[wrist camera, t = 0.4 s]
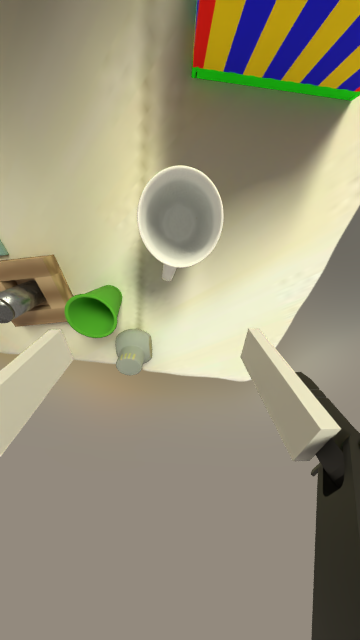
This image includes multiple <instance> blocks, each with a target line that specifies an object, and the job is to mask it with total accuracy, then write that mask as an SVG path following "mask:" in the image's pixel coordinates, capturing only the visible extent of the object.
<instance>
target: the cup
mask: <svg viewBox="0 0 360 640" xmlns="http://www.w3.org/2000/svg"><path fill="white" fill-rule="evenodd" d="M121 301H122V294H121V292H120V291H119V289H117V288H116V287H114V286H111V285H106V286H103V287H100V288H98V289H95V290H93V291H90V292H88V293H86V294H79V295H75V296H73V297H72V298H70V299H69V300H68V301H67V303H66V305H65V311H64V313H65V317H66V320H67V322H68V323H69V324H70V326H71V327H72V328H73V329H74V330H76V331H77V332H79V333H80V334H82V335H85V336H87V337H92V338H101V337H105V336H108V335H110V334H111V333H112V332H113V331H114V330H115V328H116V326H117V316H118V312H119V308H120V305H121Z"/></svg>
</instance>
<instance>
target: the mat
mask: <svg viewBox="0 0 360 640" xmlns="http://www.w3.org/2000/svg"><path fill="white" fill-rule="evenodd" d="M0 255H8V252H7V250H6V249H5V247H4V245H3V244H2V242H1V240H0Z"/></svg>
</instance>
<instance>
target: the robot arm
mask: <svg viewBox="0 0 360 640" xmlns="http://www.w3.org/2000/svg"><path fill="white" fill-rule="evenodd" d="M241 359H242V361H243V363H244V365H245V367H246V369H247V371H248V373H249V375H250V377H251V379H252V381H253V383H254V385H255V387H256V389H257V391H258V393H259V395H260V397H261V399H262V401H263V403H264V405H265V407H266V409H267V410H268V413H269V415H270V417H271V419H272V420H273V423H274V425H275V427H276V429H277V431H278V432H279V435H280V437H281V439H282V441H283V443H284V444H285V446H286V448H287V451H288V453H289V454H290V456H291V458H292V460H293V461H310V460H311V459H312V458H313V457H314V456H315V455H316V456H317V458H318V459H319V461H320V463H319V464H318V465H317V466H316V467H315V468H314V469H313V470H312V472H311V475H312V476H315V475H316V474H317V473H318V485H317V511H316V537H315V563H314V564H315V565H314V589H313V615H312V640H360V433H359V432H358V431H357V430H356V429H355V428H354V427H353V426H352V425H351V424H350V423H349V422H348V420H347V419H346V418H345V417H344V416H343V415H342V414H341V413H340V411H339V410H338V409H337V408H336V407H335V406H334V405H333V404H332V403H331V401H330V400H329V399H328V398H326V396H325V395H324V393H323V392H322V391H321V390H319V388H318V387H317V385H316V384H315V383H314V382H313V381H312V380H311V379H310V378H308V377H307V376H306V375H304V374H303V373H301V372H294V371H293V370H292V368H291V367H290V366H289V365H288V363H287V362H286V361H285V360H284V359H283V357H282V356H281V355H280V354H279V352H278V351H277V350H276V349H275V348H274V346H273V345H272V344H271V343H270V341H269V340H268V339H267V338H266V337H265V335H264V334H263V333H262V332H261V330H260V329H248V332H247V335H246V339H245V343H244V346H243V350H242V354H241ZM73 360H74V358H73V356H72V353H71V351H70V349H69V346H68V344H67V342H66V339H65V337H64V335H63V332H62V330H61V329H50V330H49V331H47V332H46V333H45V334H44V335H43V336H41V337H40V338H39V339H38V340H37V341H35V342H34V343H33V344H32V345H31V346H29V347H28V348H27V349H26V350H25V351H23V352H22V353H21V354H20V355H19V356H18V357H16V358H15V359H14V360H13V361H12V362H10V363H9V364H8V365H7V366H6V367H4V368H3V369H2V370H1V371H0V457H1V455H2V454H3V453H4V451H5V450H6V449H7V447H8V446H9V445H10V443H11V442H12V441H13V439H14V438H15V437H16V435H17V434H18V433H19V431H20V430H21V429H22V427H23V426H24V425H25V423H26V422H27V421H28V419H29V418H30V417H31V415H32V414H33V412H34V411H35V410H36V409H37V407H38V406H39V405H40V403H41V402H42V401H43V399H44V398H45V397H46V395H47V394H48V393H49V391H50V390H51V389H52V387H53V386H54V385H55V383H56V382H57V381H58V379H59V378H60V377H61V375H62V374H63V373H64V372H65V370H66V369H67V367H68V366H69V365H70V363H71V362H72V361H73Z"/></svg>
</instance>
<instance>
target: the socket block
mask: <svg viewBox="0 0 360 640" xmlns="http://www.w3.org/2000/svg"><path fill="white" fill-rule="evenodd" d="M30 280H36V282H37V284H38V286H39V287H40V289H41V291H42V293H43V294H44V296H45V298H46V301H44V302H42V303H41V304H39V305H37V306H35V307H34V308H32V309H30V310H29V311H27V312H25V313H24V314H22V315H20V316H18V317H17V318H15V319H13V320H12V323H13V324H14V325H15V327H17V326H27V325H37V324H47V323H57V322H67V320H66V317H65V313H64V311H65V305H66V303H67V301H68V300H69V299H70V298H72V297H73V295H72V293H71V291H70V289H69V286H68V284H67V282H66V280H65V278H64V276H63V273H62V271H61V269H60V267H59V265H58V263H57V260H56V258H55V256H54V255H47V256H38V257H29V258H20V259H11V260H2V261H0V292H1V291H4V290H6V289H9V288H11V287H14V286H17V285H19V284H22V283H25V282H27V281H30Z"/></svg>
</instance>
